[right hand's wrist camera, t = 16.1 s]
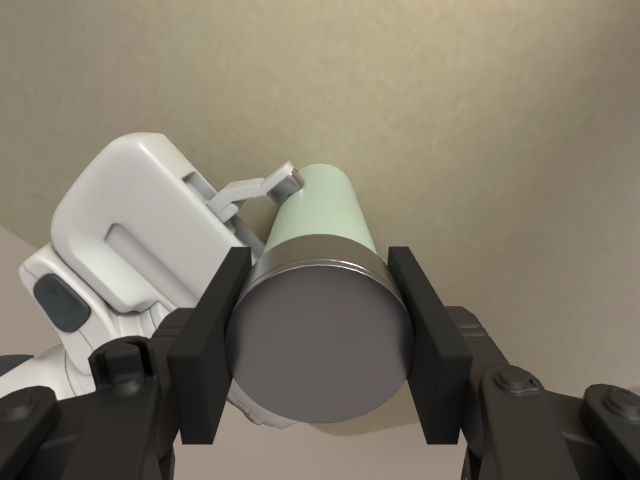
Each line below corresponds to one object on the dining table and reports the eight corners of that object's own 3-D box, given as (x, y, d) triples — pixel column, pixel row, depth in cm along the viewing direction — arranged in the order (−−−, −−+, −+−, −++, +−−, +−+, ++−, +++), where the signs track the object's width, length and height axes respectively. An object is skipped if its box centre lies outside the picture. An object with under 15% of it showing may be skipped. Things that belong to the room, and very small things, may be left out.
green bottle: (288, 159, 26) (239, 255, 10) (358, 166, 26) (417, 272, 10) (283, 225, 28) (235, 396, 12) (348, 231, 28) (387, 408, 12)
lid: (212, 322, 13) (188, 369, 11) (299, 199, 11) (294, 224, 9) (336, 393, 14) (339, 449, 12) (432, 290, 12) (456, 333, 10)
